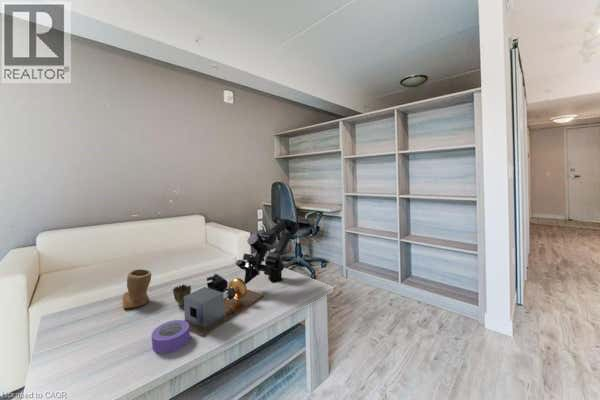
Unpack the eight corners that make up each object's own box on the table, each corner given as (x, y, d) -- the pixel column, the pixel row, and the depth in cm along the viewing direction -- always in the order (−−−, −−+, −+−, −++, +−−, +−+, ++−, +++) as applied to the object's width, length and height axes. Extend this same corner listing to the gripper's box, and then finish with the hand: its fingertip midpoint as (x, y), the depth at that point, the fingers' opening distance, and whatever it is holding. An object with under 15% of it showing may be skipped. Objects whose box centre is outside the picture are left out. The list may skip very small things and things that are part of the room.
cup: (195, 302, 118) (194, 285, 118) (183, 309, 111) (182, 292, 111) (182, 299, 121) (181, 283, 120) (170, 307, 114) (169, 289, 113)
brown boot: (153, 304, 116) (151, 273, 115) (121, 312, 110) (119, 278, 108) (151, 292, 129) (150, 263, 127) (123, 298, 122) (121, 268, 121)
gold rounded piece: (232, 294, 121) (232, 276, 120) (247, 299, 116) (246, 280, 116) (202, 311, 106) (202, 290, 105) (218, 317, 102) (217, 295, 101)
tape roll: (160, 359, 81) (159, 344, 81) (147, 343, 89) (146, 330, 89) (195, 341, 90) (195, 328, 90) (181, 328, 98) (180, 316, 97)
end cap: (228, 290, 130) (227, 278, 129) (214, 295, 125) (214, 281, 125) (220, 284, 137) (219, 272, 137) (206, 288, 133) (206, 275, 132)
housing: (242, 290, 130) (242, 268, 129) (264, 296, 123) (263, 273, 122) (178, 325, 99) (177, 297, 98) (202, 336, 92) (201, 306, 91)
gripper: (237, 244, 129) (221, 272, 121) (267, 249, 120) (252, 279, 111) (248, 255, 137) (234, 282, 128) (276, 260, 127) (263, 290, 119)
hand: (245, 283), depth 121 cm, fingers closed
